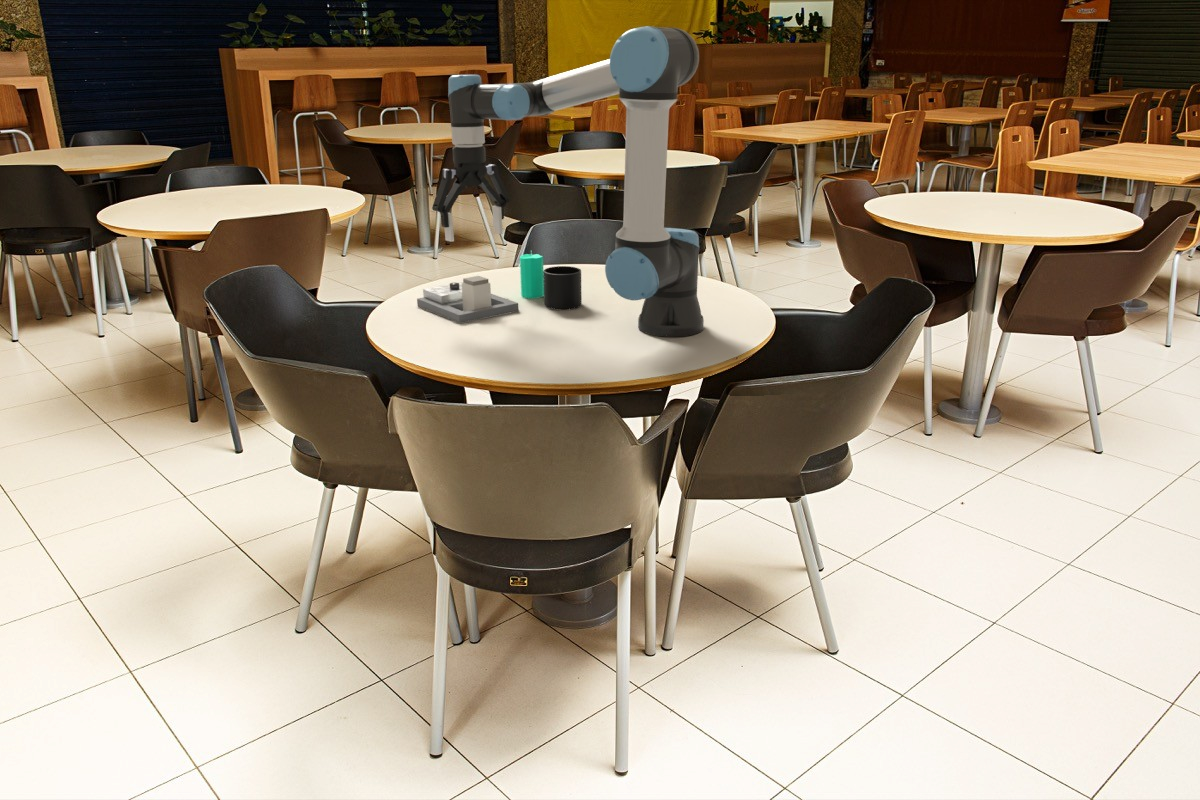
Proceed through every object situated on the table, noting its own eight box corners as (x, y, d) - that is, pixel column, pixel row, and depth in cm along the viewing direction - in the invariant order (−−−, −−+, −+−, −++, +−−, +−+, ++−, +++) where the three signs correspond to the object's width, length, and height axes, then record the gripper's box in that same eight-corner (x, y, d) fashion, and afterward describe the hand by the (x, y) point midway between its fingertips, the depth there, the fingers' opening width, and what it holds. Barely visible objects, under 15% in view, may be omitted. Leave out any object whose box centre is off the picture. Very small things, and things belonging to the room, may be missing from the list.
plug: (480, 308, 232) (478, 275, 229) (491, 312, 228) (490, 279, 225) (463, 312, 229) (461, 278, 226) (474, 316, 225) (472, 282, 222)
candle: (543, 298, 241) (541, 252, 236) (520, 298, 241) (518, 252, 236) (544, 292, 246) (543, 247, 242) (522, 292, 246) (520, 247, 242)
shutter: (486, 295, 236) (485, 282, 234) (441, 303, 228) (441, 291, 227) (467, 288, 242) (466, 276, 241) (423, 296, 234) (422, 284, 233)
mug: (584, 298, 241) (584, 264, 237) (579, 310, 230) (579, 274, 226) (548, 297, 241) (547, 263, 238) (541, 310, 230) (540, 274, 227)
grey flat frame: (518, 310, 229) (518, 303, 229) (459, 323, 219) (459, 315, 219) (474, 295, 244) (474, 287, 243) (417, 306, 234) (416, 298, 233)
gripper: (504, 140, 224) (508, 228, 232) (412, 148, 209) (420, 241, 217) (522, 142, 219) (526, 232, 226) (429, 150, 204) (436, 246, 211)
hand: (474, 237), depth 222 cm, fingers open, 13 cm apart
